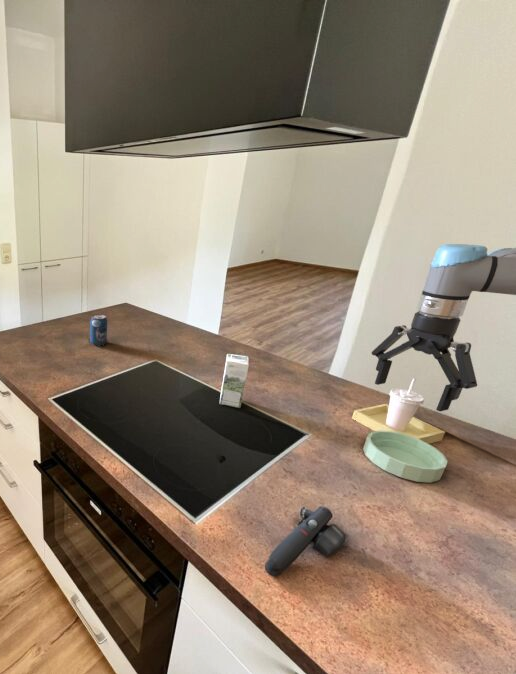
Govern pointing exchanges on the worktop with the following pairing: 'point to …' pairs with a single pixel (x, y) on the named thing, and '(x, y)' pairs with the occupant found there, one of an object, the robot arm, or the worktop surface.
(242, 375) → the syrup box
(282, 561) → the can opener
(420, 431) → the tray
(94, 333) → the soda can
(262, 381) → the worktop surface
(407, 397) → the smoothie
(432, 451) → the bowl
